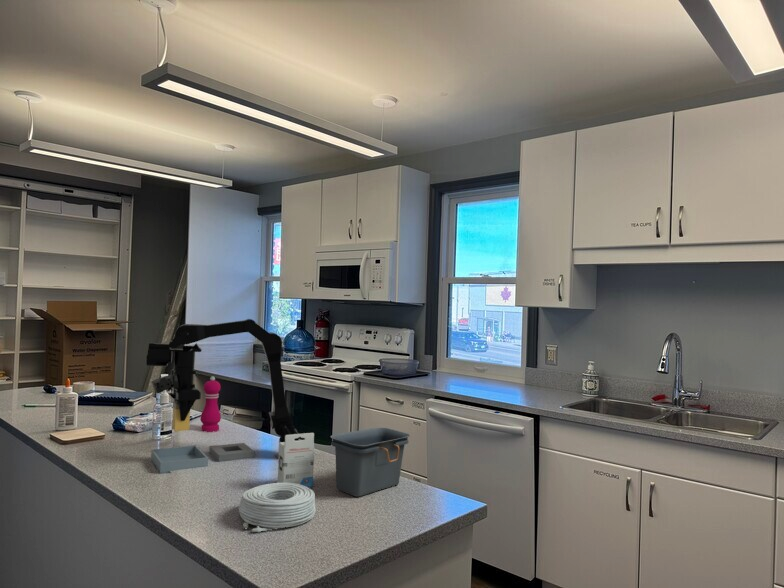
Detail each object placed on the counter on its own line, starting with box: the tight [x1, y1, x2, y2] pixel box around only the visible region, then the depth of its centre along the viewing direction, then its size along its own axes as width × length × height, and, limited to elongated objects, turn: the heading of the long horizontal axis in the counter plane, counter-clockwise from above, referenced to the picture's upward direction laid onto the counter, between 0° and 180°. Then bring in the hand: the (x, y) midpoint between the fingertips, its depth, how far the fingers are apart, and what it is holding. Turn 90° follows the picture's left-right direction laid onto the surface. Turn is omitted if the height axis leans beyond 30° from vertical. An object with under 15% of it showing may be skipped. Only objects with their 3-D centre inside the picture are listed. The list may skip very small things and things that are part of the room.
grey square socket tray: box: [208, 442, 256, 463], centre depth 176 cm, size 11×11×2 cm
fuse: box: [171, 400, 191, 432], centre depth 166 cm, size 4×4×8 cm
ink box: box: [277, 432, 315, 489], centre depth 151 cm, size 9×5×15 cm, turn 117°
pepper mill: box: [200, 375, 222, 433], centre depth 208 cm, size 7×7×20 cm
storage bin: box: [329, 427, 411, 497], centre depth 152 cm, size 21×16×14 cm
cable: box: [238, 482, 317, 533], centre depth 130 cm, size 18×18×6 cm
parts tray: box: [150, 445, 209, 475], centre depth 166 cm, size 15×13×3 cm
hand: (181, 419), depth 166 cm, fingers closed on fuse, 4 cm apart
